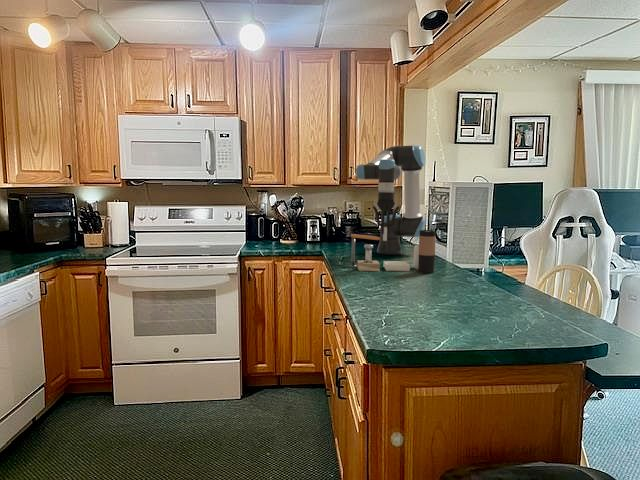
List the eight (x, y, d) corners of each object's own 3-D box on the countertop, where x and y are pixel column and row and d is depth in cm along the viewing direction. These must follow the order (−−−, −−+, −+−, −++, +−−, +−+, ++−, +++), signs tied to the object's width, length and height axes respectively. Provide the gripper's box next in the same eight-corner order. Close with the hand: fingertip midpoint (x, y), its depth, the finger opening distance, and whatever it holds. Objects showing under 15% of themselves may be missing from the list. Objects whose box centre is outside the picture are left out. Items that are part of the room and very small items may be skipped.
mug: (421, 270, 232) (422, 247, 231) (409, 267, 240) (410, 245, 238) (439, 268, 238) (440, 246, 237) (427, 265, 246) (428, 244, 245)
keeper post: (348, 265, 243) (349, 237, 241) (356, 265, 243) (357, 237, 241) (349, 267, 239) (349, 238, 237) (357, 267, 239) (357, 238, 237)
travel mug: (415, 272, 226) (417, 230, 223) (420, 270, 232) (421, 229, 230) (431, 274, 222) (433, 231, 220) (436, 271, 229) (437, 230, 226)
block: (357, 267, 239) (357, 260, 238) (377, 267, 239) (377, 260, 239) (358, 270, 229) (359, 263, 229) (379, 271, 229) (379, 263, 229)
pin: (363, 268, 236) (363, 244, 235) (372, 268, 236) (372, 244, 235) (364, 269, 232) (364, 245, 230) (373, 269, 232) (373, 245, 230)
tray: (383, 266, 241) (383, 261, 240) (405, 267, 241) (405, 261, 240) (386, 270, 229) (386, 264, 229) (409, 271, 229) (409, 265, 229)
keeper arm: (349, 237, 239) (349, 234, 239) (353, 236, 241) (353, 233, 241) (377, 240, 227) (377, 237, 227) (380, 239, 229) (380, 236, 229)
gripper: (373, 191, 225) (372, 241, 227) (401, 192, 225) (399, 241, 228) (371, 191, 232) (370, 239, 235) (398, 191, 232) (396, 239, 235)
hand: (384, 240), depth 231 cm, fingers closed
